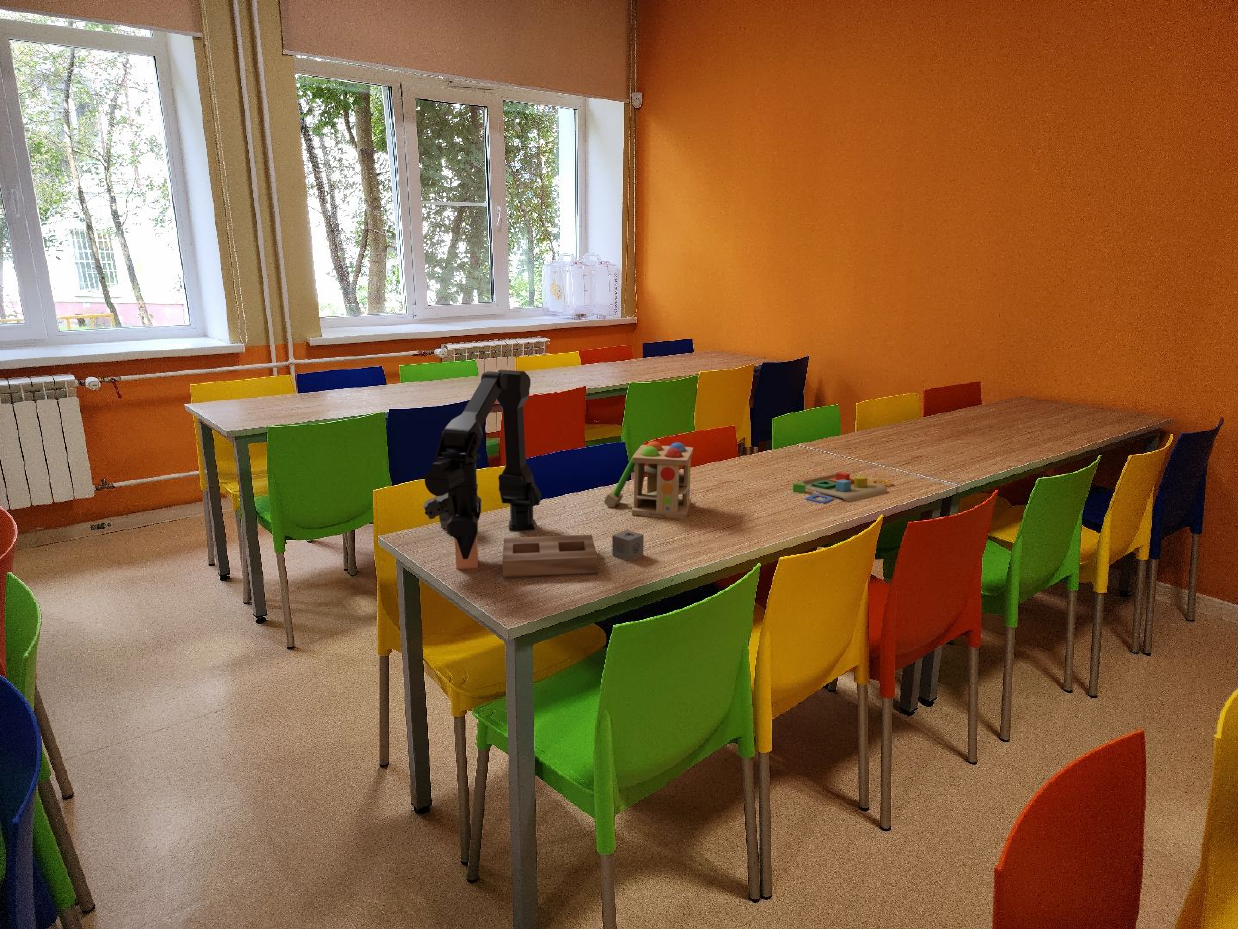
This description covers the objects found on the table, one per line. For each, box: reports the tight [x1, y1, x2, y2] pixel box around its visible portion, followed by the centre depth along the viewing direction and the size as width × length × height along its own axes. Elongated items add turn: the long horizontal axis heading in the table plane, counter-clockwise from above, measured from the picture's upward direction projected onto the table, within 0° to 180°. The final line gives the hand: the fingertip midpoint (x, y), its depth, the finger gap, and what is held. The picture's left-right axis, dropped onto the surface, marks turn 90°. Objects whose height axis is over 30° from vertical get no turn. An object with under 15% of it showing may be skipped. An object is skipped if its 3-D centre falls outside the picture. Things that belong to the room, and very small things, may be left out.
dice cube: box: [611, 529, 644, 562], centre depth 180 cm, size 5×5×5 cm
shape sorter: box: [792, 471, 895, 505], centre depth 231 cm, size 34×19×5 cm, turn 123°
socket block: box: [501, 534, 598, 580], centre depth 175 cm, size 14×20×4 cm
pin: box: [454, 535, 479, 570], centre depth 174 cm, size 4×4×10 cm
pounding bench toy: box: [603, 440, 694, 519], centre depth 212 cm, size 23×14×18 cm, turn 79°
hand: (466, 551), depth 175 cm, fingers open, 9 cm apart
